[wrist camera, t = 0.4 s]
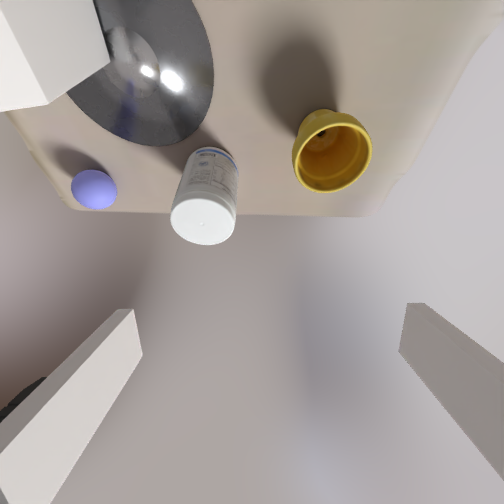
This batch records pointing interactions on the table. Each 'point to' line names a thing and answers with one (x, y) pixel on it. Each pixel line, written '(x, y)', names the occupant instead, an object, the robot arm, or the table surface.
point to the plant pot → (330, 151)
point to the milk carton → (47, 49)
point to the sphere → (94, 189)
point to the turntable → (149, 71)
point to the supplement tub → (206, 197)
